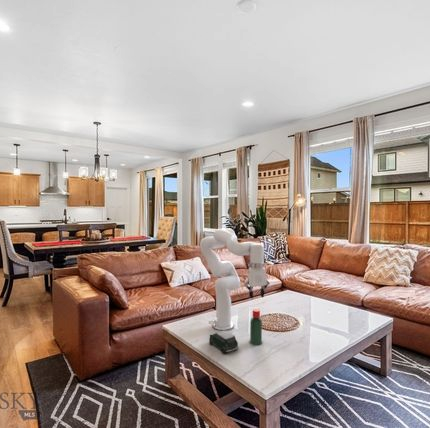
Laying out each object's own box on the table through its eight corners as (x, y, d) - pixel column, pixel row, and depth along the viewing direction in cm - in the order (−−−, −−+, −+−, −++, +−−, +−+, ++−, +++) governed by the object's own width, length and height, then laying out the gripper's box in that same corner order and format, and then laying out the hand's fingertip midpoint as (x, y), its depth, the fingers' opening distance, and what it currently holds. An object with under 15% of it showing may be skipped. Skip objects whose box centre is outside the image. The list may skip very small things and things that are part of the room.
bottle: (252, 345, 165) (252, 313, 164) (248, 340, 171) (249, 309, 170) (263, 344, 166) (263, 312, 166) (259, 339, 172) (259, 308, 172)
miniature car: (220, 338, 173) (220, 324, 173) (240, 350, 159) (240, 335, 159) (207, 342, 167) (207, 328, 167) (226, 355, 153) (226, 340, 153)
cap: (253, 318, 165) (253, 311, 165) (251, 315, 169) (251, 309, 169) (260, 317, 166) (260, 311, 166) (258, 314, 170) (258, 308, 170)
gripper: (244, 267, 161) (244, 300, 161) (273, 266, 165) (273, 297, 166) (240, 264, 168) (240, 296, 169) (268, 263, 173) (268, 294, 173)
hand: (256, 296), depth 167 cm, fingers open, 5 cm apart
